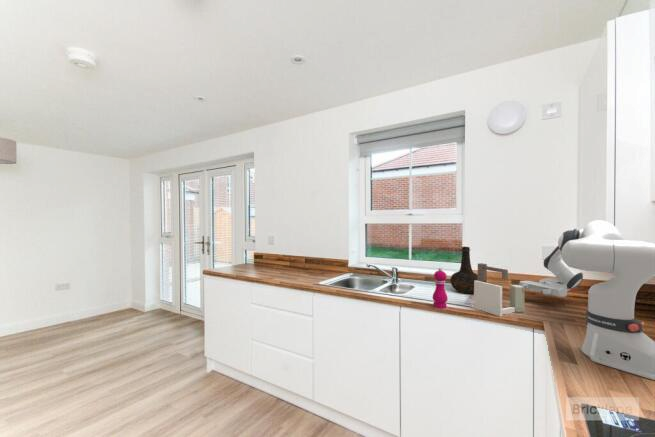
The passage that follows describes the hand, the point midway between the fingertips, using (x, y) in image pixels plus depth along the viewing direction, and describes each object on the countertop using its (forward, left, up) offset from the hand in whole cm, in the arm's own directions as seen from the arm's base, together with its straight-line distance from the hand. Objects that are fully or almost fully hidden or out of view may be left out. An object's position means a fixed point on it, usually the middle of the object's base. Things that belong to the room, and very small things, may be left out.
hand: (532, 289), depth 152 cm
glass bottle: (+36, +6, -9) cm, 37 cm away
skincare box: (0, +13, -9) cm, 16 cm away
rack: (+4, +24, -9) cm, 26 cm away
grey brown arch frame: (+6, +22, -9) cm, 25 cm away
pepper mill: (+20, +44, -9) cm, 49 cm away
